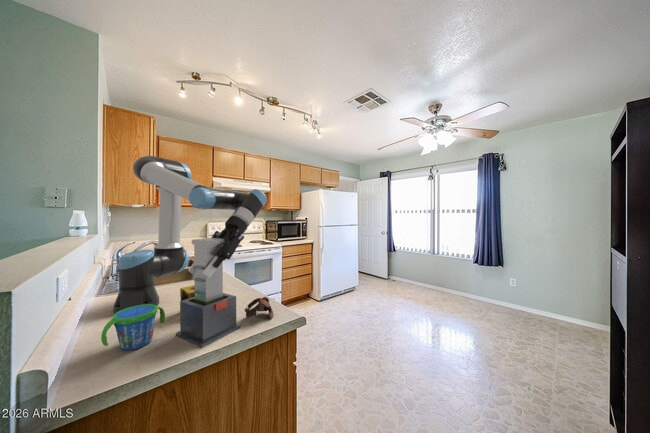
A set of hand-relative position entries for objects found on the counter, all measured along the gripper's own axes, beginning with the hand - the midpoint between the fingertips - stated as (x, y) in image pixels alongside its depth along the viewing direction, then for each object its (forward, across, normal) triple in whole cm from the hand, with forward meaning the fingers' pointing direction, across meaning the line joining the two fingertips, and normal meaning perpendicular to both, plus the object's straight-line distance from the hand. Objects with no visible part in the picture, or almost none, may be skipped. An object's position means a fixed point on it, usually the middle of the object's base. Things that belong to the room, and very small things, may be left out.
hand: (198, 274), depth 74 cm
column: (+7, 0, -11) cm, 13 cm away
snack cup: (+23, +12, -6) cm, 26 cm away
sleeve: (+12, 0, -17) cm, 20 cm away
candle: (+7, +18, -22) cm, 30 cm away
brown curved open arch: (0, -7, -29) cm, 30 cm away
